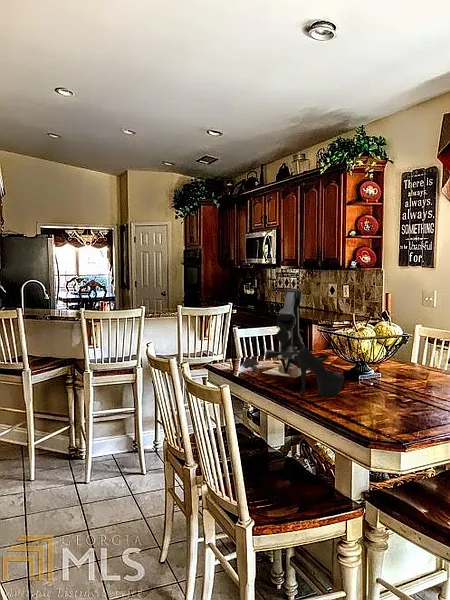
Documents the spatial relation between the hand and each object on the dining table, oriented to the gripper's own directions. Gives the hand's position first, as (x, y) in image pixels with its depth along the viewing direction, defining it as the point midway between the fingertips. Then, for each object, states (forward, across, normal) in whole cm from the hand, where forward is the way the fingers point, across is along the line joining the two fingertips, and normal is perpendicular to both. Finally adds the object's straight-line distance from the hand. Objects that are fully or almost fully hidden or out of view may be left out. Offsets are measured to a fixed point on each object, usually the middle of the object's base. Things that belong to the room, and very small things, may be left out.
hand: (285, 372), depth 232 cm
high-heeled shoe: (+3, +12, -28) cm, 31 cm away
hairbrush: (+3, -15, +19) cm, 25 cm away
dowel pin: (+1, +6, +2) cm, 7 cm away
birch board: (+2, +1, +8) cm, 8 cm away
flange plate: (+1, +2, +5) cm, 5 cm away
